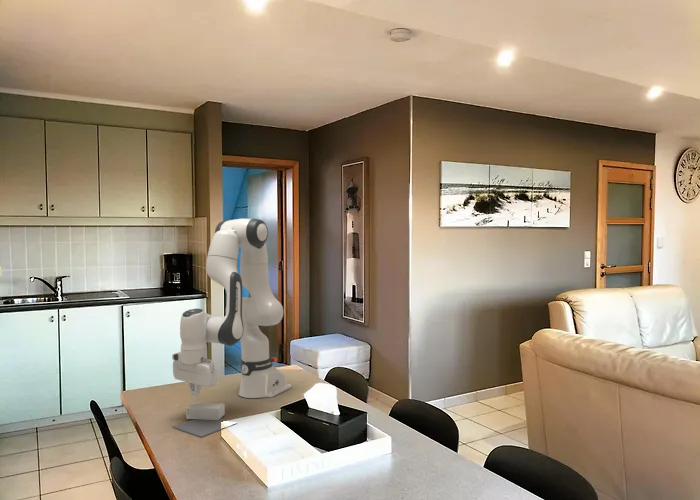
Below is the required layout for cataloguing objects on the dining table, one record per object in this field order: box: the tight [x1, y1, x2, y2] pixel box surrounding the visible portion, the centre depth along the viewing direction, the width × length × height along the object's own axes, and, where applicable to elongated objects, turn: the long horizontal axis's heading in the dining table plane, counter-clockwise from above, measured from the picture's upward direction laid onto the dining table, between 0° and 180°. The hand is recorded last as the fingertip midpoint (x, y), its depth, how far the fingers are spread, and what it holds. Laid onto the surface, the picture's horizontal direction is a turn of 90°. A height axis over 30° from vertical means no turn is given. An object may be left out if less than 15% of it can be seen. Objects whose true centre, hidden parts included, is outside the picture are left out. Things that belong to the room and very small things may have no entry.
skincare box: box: [185, 401, 226, 420], centre depth 189 cm, size 6×4×12 cm
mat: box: [172, 417, 228, 439], centre depth 182 cm, size 15×16×1 cm
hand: (195, 395), depth 186 cm, fingers closed
